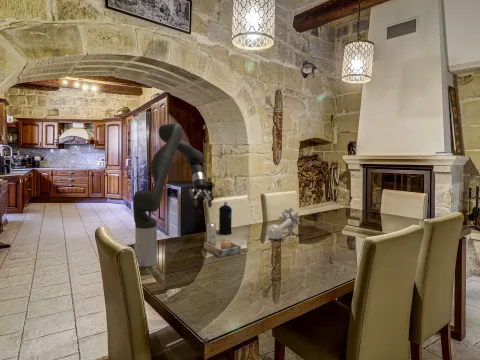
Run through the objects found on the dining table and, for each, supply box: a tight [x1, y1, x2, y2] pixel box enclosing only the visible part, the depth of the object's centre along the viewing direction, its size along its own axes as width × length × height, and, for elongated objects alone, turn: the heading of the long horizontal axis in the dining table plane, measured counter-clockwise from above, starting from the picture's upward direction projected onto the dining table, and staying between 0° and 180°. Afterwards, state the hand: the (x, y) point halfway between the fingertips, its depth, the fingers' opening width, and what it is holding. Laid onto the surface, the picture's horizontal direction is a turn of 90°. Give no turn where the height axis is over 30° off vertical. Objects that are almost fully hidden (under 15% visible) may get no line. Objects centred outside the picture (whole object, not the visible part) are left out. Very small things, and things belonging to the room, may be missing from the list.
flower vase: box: [267, 207, 301, 241], centre depth 195 cm, size 13×18×25 cm
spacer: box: [220, 239, 231, 250], centre depth 162 cm, size 5×5×6 cm
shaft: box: [206, 222, 217, 247], centre depth 174 cm, size 5×5×12 cm
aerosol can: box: [218, 201, 233, 236], centre depth 201 cm, size 8×8×20 cm
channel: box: [203, 238, 242, 258], centre depth 165 cm, size 12×16×4 cm
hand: (203, 206), depth 178 cm, fingers open, 8 cm apart
